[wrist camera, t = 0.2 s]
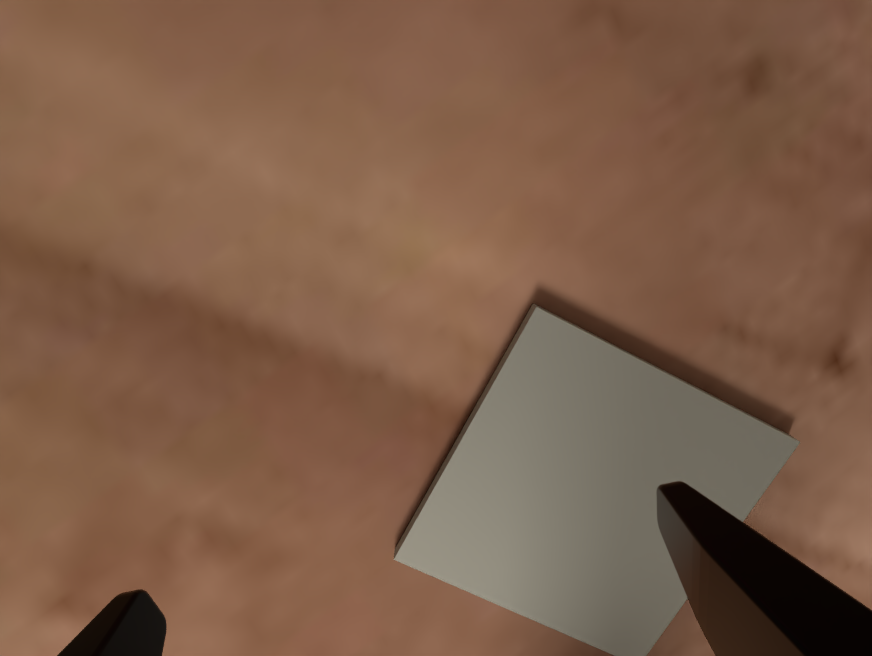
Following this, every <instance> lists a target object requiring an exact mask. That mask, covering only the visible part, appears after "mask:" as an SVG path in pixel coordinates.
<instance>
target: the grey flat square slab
mask: <svg viewBox="0 0 872 656" xmlns="http://www.w3.org/2000/svg"><path fill="white" fill-rule="evenodd" d="M799 443H800V441H798V440H797V439H795V438H794V437H792V436H791V435H789V434H787V433H785V432H783V431H781V430H779V429H777V428H775V427H773V426H771V425H769V424H768V423H766V422H764V421H762V420H760V419H758V418H756V417H754V416H752V415H750V414H748V413H746V412H744V411H742V410H740V409H738V408H736V407H734V406H732V405H730V404H729V403H727V402H725V401H723V400H721V399H719V398H717V397H715V396H713V395H711V394H709V393H707V392H705V391H703V390H701V389H699V388H697V387H695V386H693V385H692V384H690V383H688V382H686V381H684V380H682V379H680V378H678V377H676V376H674V375H672V374H670V373H668V372H666V371H664V370H662V369H660V368H658V367H656V366H654V365H653V364H651V363H649V362H647V361H645V360H643V359H641V358H639V357H637V356H635V355H633V354H631V353H629V352H627V351H625V350H623V349H621V348H619V347H617V346H615V345H614V344H612V343H610V342H608V341H606V340H604V339H602V338H600V337H598V336H596V335H594V334H592V333H590V332H588V331H586V330H584V329H582V328H580V327H578V326H576V325H575V324H573V323H571V322H569V321H567V320H565V319H563V318H561V317H559V316H557V315H555V314H553V313H551V312H549V311H547V310H545V309H543V308H541V307H539V306H538V305H536V304H534V303H533V304H532V306H531V308H530V310H529V311H528V313H527V315H526V317H525V319H524V320H523V322H522V324H521V326H520V327H519V329H518V331H517V333H516V335H515V336H514V338H513V340H512V342H511V343H510V345H509V347H508V349H507V351H506V352H505V354H504V356H503V358H502V359H501V361H500V363H499V365H498V367H497V368H496V370H495V372H494V374H493V375H492V377H491V379H490V381H489V383H488V384H487V386H486V388H485V390H484V391H483V393H482V395H481V397H480V399H479V400H478V402H477V404H476V406H475V407H474V409H473V411H472V413H471V415H470V416H469V418H468V420H467V422H466V423H465V425H464V427H463V429H462V431H461V432H460V434H459V436H458V438H457V439H456V441H455V443H454V445H453V447H452V448H451V450H450V452H449V454H448V455H447V457H446V459H445V461H444V463H443V464H442V466H441V468H440V470H439V471H438V473H437V475H436V477H435V479H434V480H433V482H432V484H431V486H430V487H429V489H428V491H427V493H426V495H425V496H424V498H423V500H422V502H421V503H420V505H419V507H418V509H417V511H416V512H415V514H414V516H413V518H412V520H411V521H410V523H409V525H408V527H407V528H406V530H405V532H404V534H403V536H402V537H401V539H400V541H399V543H398V544H397V546H396V548H395V553H394V560H396V561H398V562H401V563H403V564H405V565H407V566H410V567H412V568H414V569H417V570H419V571H421V572H423V573H426V574H428V575H430V576H433V577H435V578H437V579H440V580H442V581H444V582H446V583H449V584H451V585H453V586H456V587H458V588H460V589H463V590H465V591H467V592H469V593H472V594H474V595H476V596H479V597H481V598H483V599H486V600H488V601H490V602H492V603H495V604H497V605H499V606H502V607H504V608H506V609H508V610H511V611H513V612H515V613H518V614H520V615H522V616H525V617H527V618H529V619H531V620H534V621H536V622H538V623H541V624H543V625H545V626H548V627H550V628H552V629H554V630H557V631H559V632H561V633H564V634H566V635H568V636H571V637H573V638H575V639H577V640H580V641H582V642H584V643H587V644H589V645H591V646H594V647H596V648H598V649H600V650H603V651H605V652H607V653H610V654H612V655H614V656H646V655H647V654H648V653H649V651H650V650H651V648H652V647H653V646H654V644H655V643H656V641H657V640H658V639H659V637H660V636H661V635H662V633H663V632H664V630H665V629H666V628H667V626H668V625H669V623H670V622H671V621H672V619H673V618H674V617H675V615H676V614H677V612H678V611H679V610H680V608H681V607H682V605H683V604H684V603H685V601H686V600H687V599H688V598H687V595H686V593H685V590H684V588H683V586H682V583H681V581H680V578H679V576H678V574H677V571H676V569H675V566H674V564H673V562H672V559H671V557H670V554H669V552H668V550H667V547H666V545H665V542H664V540H663V538H662V535H661V533H660V530H659V526H658V522H657V496H656V491H657V487H658V486H659V485H661V484H666V483H671V482H676V481H682V482H685V483H686V484H688V485H689V486H691V487H692V488H694V489H695V490H697V491H698V492H700V493H701V494H703V495H704V496H705V497H707V498H708V499H710V500H711V501H713V502H714V503H716V504H717V505H719V506H720V507H722V508H723V509H724V510H726V511H727V512H729V513H730V514H732V515H733V516H735V517H736V518H738V519H739V520H741V521H742V522H743V521H744V520H745V518H746V517H747V515H748V514H749V513H750V511H751V510H752V508H753V507H754V506H755V504H756V503H757V502H758V500H759V499H760V497H761V496H762V495H763V493H764V492H765V490H766V489H767V488H768V486H769V485H770V484H771V482H772V481H773V479H774V478H775V477H776V475H777V474H778V472H779V471H780V470H781V468H782V467H783V466H784V464H785V463H786V461H787V460H788V459H789V457H790V456H791V454H792V453H793V452H794V450H795V449H796V448H797V446H798V445H799Z"/></svg>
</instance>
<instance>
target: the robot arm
mask: <svg viewBox="0 0 872 656" xmlns="http://www.w3.org/2000/svg"><path fill="white" fill-rule="evenodd" d="M656 496H657V522H658V526H659V530H660V533H661V535H662V538H663V540H664V542H665V545H666V547H667V550H668V552H669V554H670V557H671V559H672V562H673V564H674V566H675V569H676V571H677V574H678V576H679V578H680V581H681V583H682V586H683V588H684V590H685V593H686V595H687V598H688V600H689V602H690V605H691V607H692V609H693V612H694V614H695V616H696V619H697V621H698V623H699V625H700V627H701V629H702V631H703V633H704V635H705V637H706V639H707V640H708V642H709V644H710V646H711V648H712V650H713V651H714V653H715V655H716V656H872V610H871V609H869V608H868V607H866V606H865V605H863V604H862V603H860V602H859V601H858V600H856V599H855V598H853V597H852V596H850V595H849V594H847V593H846V592H844V591H843V590H841V589H840V588H839V587H837V586H836V585H834V584H833V583H831V582H830V581H828V580H827V579H825V578H824V577H822V576H821V575H820V574H818V573H817V572H815V571H814V570H812V569H811V568H809V567H808V566H806V565H805V564H803V563H802V562H801V561H799V560H798V559H796V558H795V557H793V556H792V555H790V554H789V553H787V552H786V551H784V550H783V549H782V548H780V547H779V546H777V545H776V544H774V543H773V542H771V541H770V540H768V539H767V538H765V537H764V536H763V535H761V534H760V533H758V532H757V531H755V530H754V529H752V528H751V527H749V526H748V525H746V524H745V523H743V522H742V521H741V520H739V519H738V518H736V517H735V516H733V515H732V514H730V513H729V512H727V511H726V510H724V509H723V508H722V507H720V506H719V505H717V504H716V503H714V502H713V501H711V500H710V499H708V498H707V497H705V496H704V495H703V494H701V493H700V492H698V491H697V490H695V489H694V488H692V487H691V486H689V485H688V484H686V483H685V482H682V481H676V482H671V483H666V484H661V485H659V486H658V487H657V491H656ZM165 636H166V619H165V617H164V615H163V613H162V612H161V611H160V609H159V608H158V606H157V605H156V604H155V602H154V601H153V599H152V598H151V597H150V595H149V594H148V593H147V592H146V591H144V590H134V591H129V592H124V593H121V594H119V595H117V596H116V597H115V598H114V599H113V600H112V601H111V602H110V603H109V604H108V605H107V606H106V607H105V608H104V609H103V610H102V611H101V612H100V613H99V614H98V615H97V616H96V617H95V618H94V619H93V620H92V621H91V622H90V623H89V624H88V625H87V626H86V627H85V628H84V629H83V630H82V631H81V632H80V633H79V634H78V635H77V636H76V637H75V638H74V639H73V640H72V641H71V642H70V643H69V644H68V645H67V646H66V647H65V648H64V649H63V650H62V651H61V652H60V653H59V654H58V655H57V656H162V652H163V647H164V641H165Z"/></svg>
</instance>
